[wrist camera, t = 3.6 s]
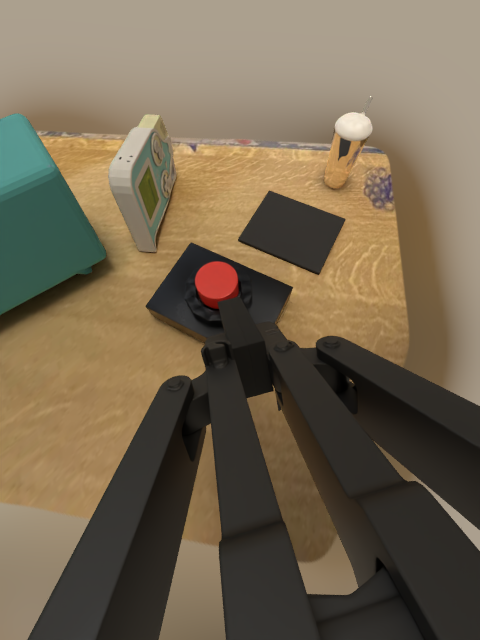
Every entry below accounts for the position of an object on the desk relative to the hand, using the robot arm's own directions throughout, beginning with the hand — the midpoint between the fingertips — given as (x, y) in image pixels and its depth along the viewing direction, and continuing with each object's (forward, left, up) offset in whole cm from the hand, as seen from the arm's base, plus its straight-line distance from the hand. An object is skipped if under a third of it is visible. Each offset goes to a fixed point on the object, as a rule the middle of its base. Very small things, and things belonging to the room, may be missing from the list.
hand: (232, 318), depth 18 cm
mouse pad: (+2, -20, -15) cm, 25 cm away
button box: (+5, -5, -15) cm, 16 cm away
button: (+5, -5, -10) cm, 13 cm away
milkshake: (0, -32, -15) cm, 36 cm away
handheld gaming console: (+21, -15, -15) cm, 30 cm away
